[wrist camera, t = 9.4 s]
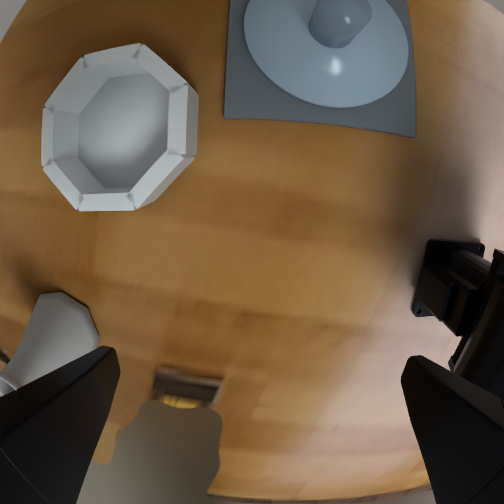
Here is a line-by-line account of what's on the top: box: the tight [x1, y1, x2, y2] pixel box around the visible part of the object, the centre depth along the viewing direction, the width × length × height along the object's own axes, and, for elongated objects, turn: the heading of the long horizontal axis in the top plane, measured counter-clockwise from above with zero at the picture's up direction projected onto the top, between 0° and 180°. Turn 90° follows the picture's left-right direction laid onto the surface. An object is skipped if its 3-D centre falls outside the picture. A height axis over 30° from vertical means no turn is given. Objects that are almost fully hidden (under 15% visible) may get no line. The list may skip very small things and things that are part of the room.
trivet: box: [224, 0, 416, 138], centre depth 16 cm, size 13×13×1 cm
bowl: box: [41, 43, 199, 211], centre depth 16 cm, size 10×10×4 cm
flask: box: [0, 292, 99, 396], centre depth 18 cm, size 7×7×10 cm
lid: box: [244, 0, 408, 109], centre depth 13 cm, size 11×11×4 cm
